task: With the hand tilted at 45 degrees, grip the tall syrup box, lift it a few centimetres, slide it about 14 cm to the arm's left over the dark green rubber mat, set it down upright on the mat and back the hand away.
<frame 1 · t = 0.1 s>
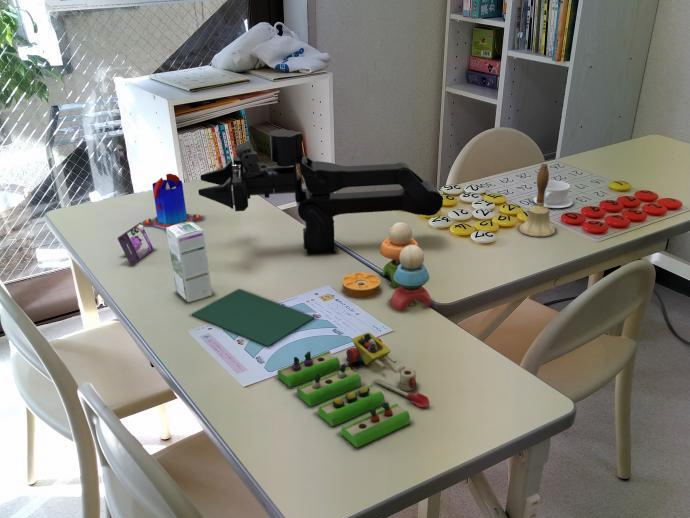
hand: (199, 184, 159), 17 cm above the table, tool horizontal, fingers open, 9 cm apart
game card: (134, 257, 168), on the table
toy garden set: (362, 391, 122), on the table
fantasy tower: (172, 222, 186), on the table
hand bell: (536, 231, 177), on the table
syrup box: (194, 295, 152), on the table
green mat: (252, 316, 143), on the table
wooden stacking toy: (389, 294, 151), on the table
teacup: (552, 203, 193), on the table
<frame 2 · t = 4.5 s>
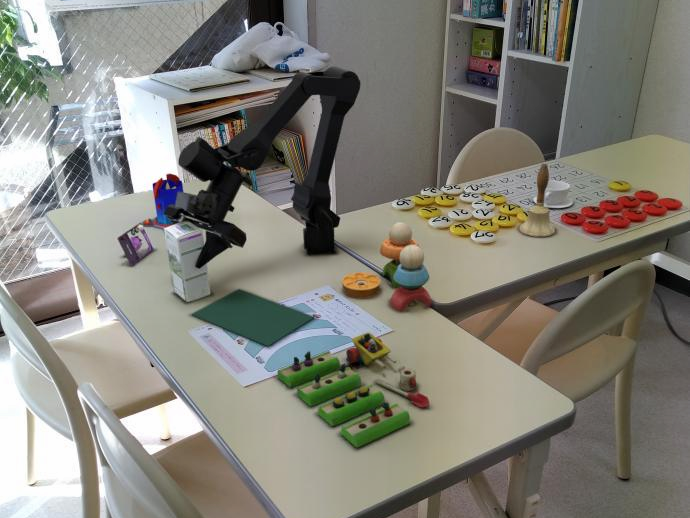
hand: (185, 263, 147), 7 cm above the table, tool tilted 45°, fingers closed on syrup box, 6 cm apart
syrup box: (192, 294, 152), on the table, touching gripper
everything else where it was.
when the fingers open (8 cm above the table, at t = 11.5 s): syrup box stays where it is, resting on green mat.
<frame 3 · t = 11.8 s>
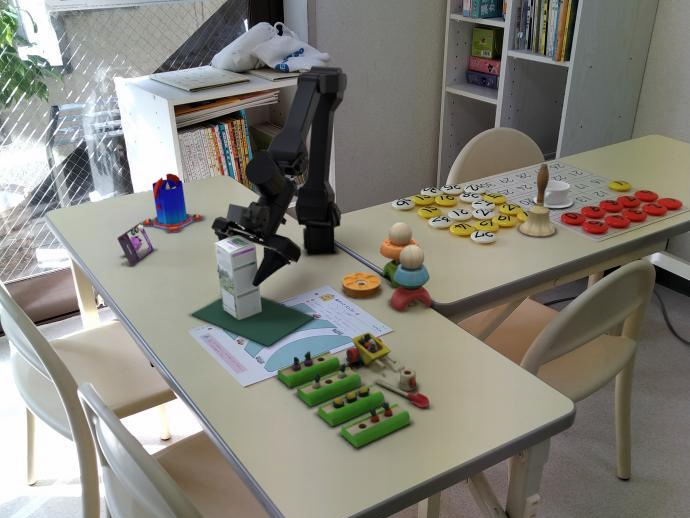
hand: (236, 279, 140), 8 cm above the table, tool tilted 45°, fingers open, 9 cm apart
syrup box: (242, 312, 145), resting on green mat, touching gripper
everything else where it was.
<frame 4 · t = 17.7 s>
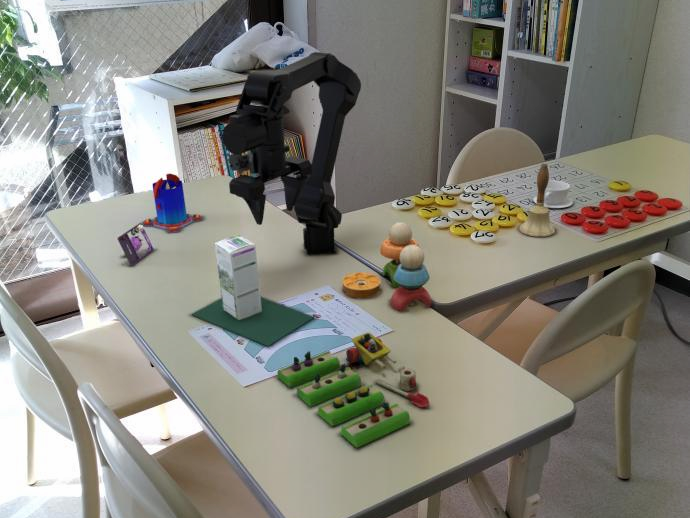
hand: (274, 217, 152), 13 cm above the table, tool pointing down, fingers open, 9 cm apart
syrup box: (242, 312, 145), resting on green mat
everything else where it was.
at the end: syrup box inside the target area (0.3 cm from its centre), resting on green mat; syrup box tilted 0°; the gripper is holding nothing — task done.
